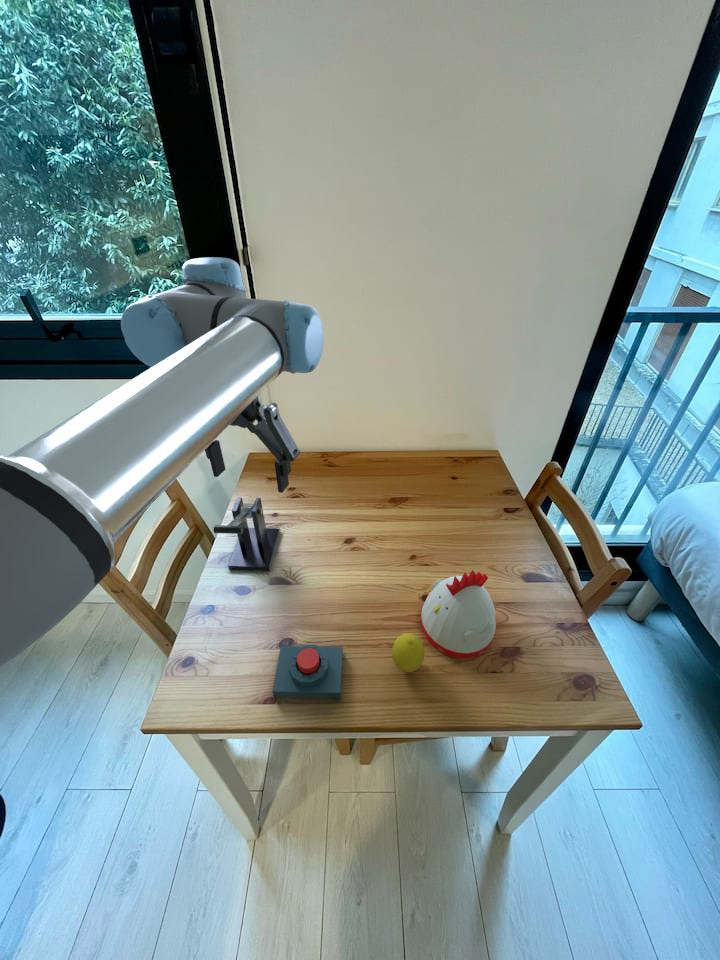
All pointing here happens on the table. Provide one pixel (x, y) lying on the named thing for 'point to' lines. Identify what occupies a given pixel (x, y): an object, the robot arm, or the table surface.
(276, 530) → the bracket
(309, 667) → the button
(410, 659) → the lemon
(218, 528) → the lever
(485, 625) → the kitchen timer
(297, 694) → the button box
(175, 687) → the table surface
